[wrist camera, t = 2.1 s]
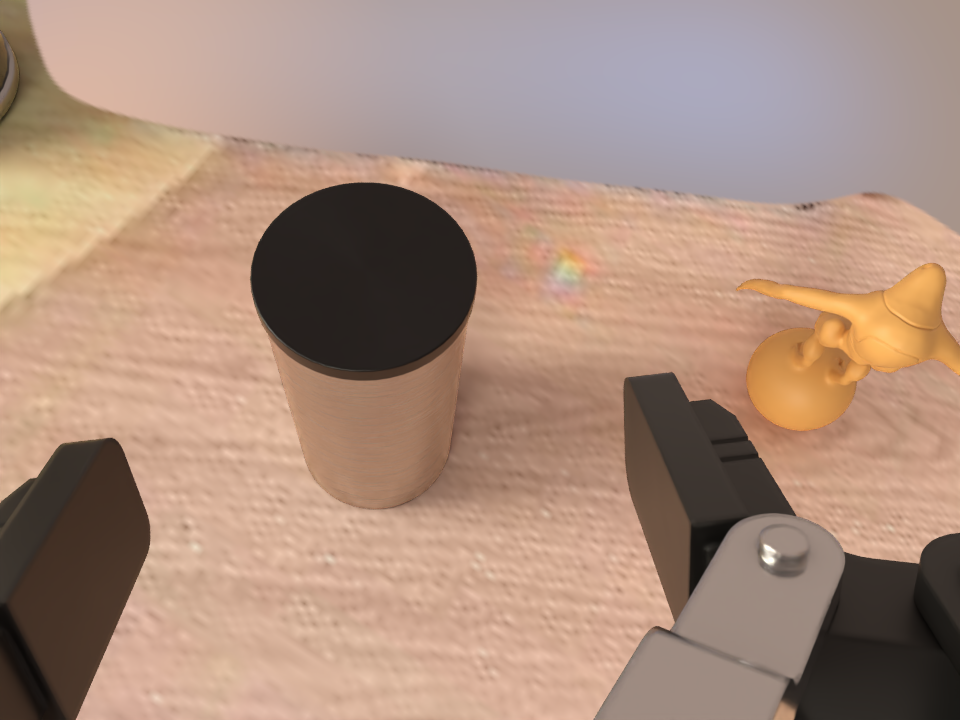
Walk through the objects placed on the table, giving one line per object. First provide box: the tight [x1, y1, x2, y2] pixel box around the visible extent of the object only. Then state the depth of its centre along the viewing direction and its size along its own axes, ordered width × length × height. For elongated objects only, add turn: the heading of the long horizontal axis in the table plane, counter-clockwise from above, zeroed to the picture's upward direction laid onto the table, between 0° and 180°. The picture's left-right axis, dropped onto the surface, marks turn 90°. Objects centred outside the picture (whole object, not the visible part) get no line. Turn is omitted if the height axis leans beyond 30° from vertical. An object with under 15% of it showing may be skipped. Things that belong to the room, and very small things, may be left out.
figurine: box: [736, 263, 960, 431], centre depth 28 cm, size 8×6×12 cm
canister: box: [250, 183, 477, 509], centre depth 26 cm, size 6×6×12 cm
